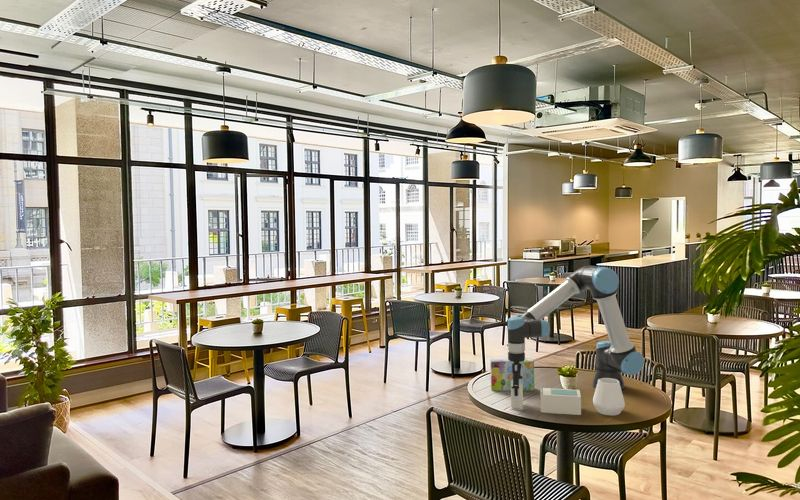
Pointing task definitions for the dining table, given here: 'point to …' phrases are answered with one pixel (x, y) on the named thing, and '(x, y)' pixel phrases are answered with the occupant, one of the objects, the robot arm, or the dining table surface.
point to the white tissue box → (560, 401)
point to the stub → (519, 405)
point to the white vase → (608, 397)
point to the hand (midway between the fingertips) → (517, 397)
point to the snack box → (510, 374)
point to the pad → (516, 408)
